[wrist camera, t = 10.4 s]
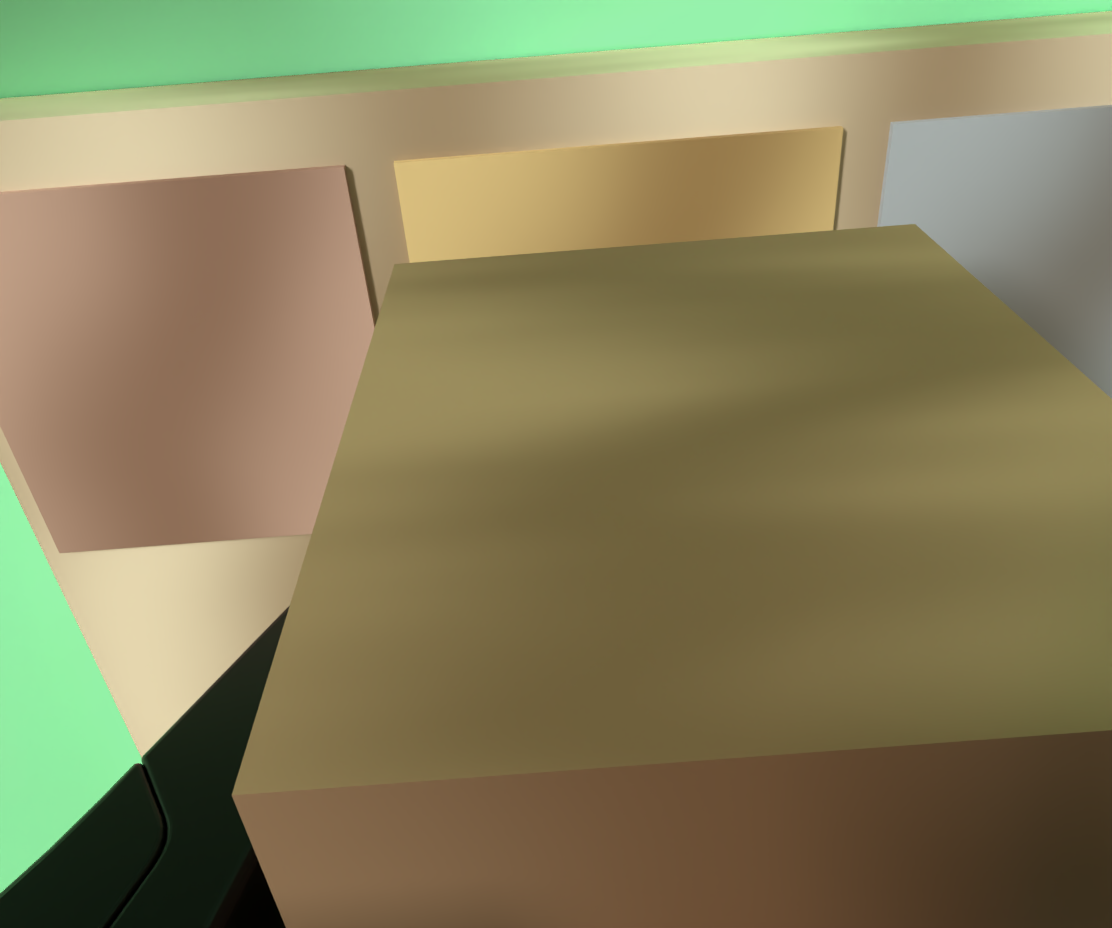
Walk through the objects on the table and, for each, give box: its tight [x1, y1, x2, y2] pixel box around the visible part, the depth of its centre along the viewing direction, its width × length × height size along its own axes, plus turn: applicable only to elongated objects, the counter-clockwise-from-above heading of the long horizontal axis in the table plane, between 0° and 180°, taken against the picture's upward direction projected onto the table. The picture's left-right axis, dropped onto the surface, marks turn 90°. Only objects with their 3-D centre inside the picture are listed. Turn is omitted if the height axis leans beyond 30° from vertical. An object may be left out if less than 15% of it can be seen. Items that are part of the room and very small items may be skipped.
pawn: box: [232, 224, 1112, 928], centre depth 7 cm, size 5×5×8 cm
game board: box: [0, 11, 1112, 757], centre depth 15 cm, size 24×18×4 cm
